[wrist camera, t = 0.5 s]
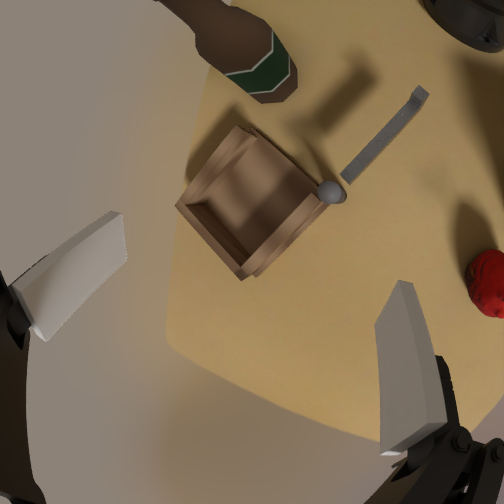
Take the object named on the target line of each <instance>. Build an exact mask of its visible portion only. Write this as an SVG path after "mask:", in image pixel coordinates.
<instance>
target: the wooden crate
mask: <svg viewBox="0 0 504 504" xmlns="http://www.w3.org/2000/svg"><path fill="white" fill-rule="evenodd" d="M346 198H347V193H346V191H345V190H344V189H343V188H342V187H340V186H339V185H338V184H337V183H335V182H333V181H329V180H328V181H324V182H322V183H321V184H320V185H319V187H318V186H317V185H316V184H315V183H314V182H313V181H312V180H311V179H310V178H309V177H308V176H307V175H306V174H305V173H304V172H303V171H302V170H301V169H299V168H298V167H297V166H296V165H295V164H294V163H293V162H292V161H291V160H290V159H289V158H287V157H286V156H285V155H284V154H283V153H282V152H281V151H280V150H278V149H277V148H276V147H275V146H274V145H273V144H272V143H270V142H269V141H268V140H267V139H266V138H265V137H263V136H262V135H261V134H260V133H259V132H257V131H256V130H255V129H253V128H250V129H249V131H247V130H245V129H243V128H241V127H240V126H238V125H235V127H234V128H233V129H232V130H231V131H230V133H229V134H228V135H227V136H226V138H225V139H224V140H223V141H222V142H221V144H220V145H219V146H218V148H217V149H216V150H215V151H214V153H213V154H212V155H211V157H210V158H209V159H208V160H207V162H206V163H205V164H204V166H203V167H202V168H201V170H200V171H199V172H198V174H197V175H196V176H195V178H194V179H193V180H192V182H191V183H190V185H189V186H188V187H187V189H186V190H185V192H184V193H183V194H182V196H181V197H180V199H179V200H178V202H177V203H176V204H175V207H176V208H177V209H178V211H179V212H180V213H181V214H182V215H183V216H184V217H185V219H186V220H187V221H188V222H189V223H190V224H191V226H192V227H193V228H194V229H195V230H196V231H197V232H198V234H199V235H200V236H201V237H202V238H203V239H204V240H205V242H206V243H207V244H208V245H209V246H210V247H211V248H212V249H213V251H214V252H215V253H216V254H217V255H218V256H219V257H220V258H221V260H222V261H223V262H224V263H225V264H226V265H227V266H228V267H229V268H230V270H231V271H232V272H233V273H234V274H235V275H236V276H237V277H238V278H239V280H240V281H242V280H244V279H246V278H247V277H249V276H250V275H252V274H253V275H254V276H255V278H256V277H258V276H259V275H260V274H261V273H262V272H263V271H264V270H265V269H266V268H267V267H268V266H270V265H271V264H272V263H273V262H274V261H275V260H276V259H277V258H278V257H279V256H280V255H281V254H282V253H283V252H284V251H285V250H286V249H287V248H288V247H289V246H290V245H291V244H292V243H293V242H294V241H295V240H296V239H297V238H298V237H299V236H300V235H301V234H302V233H303V232H304V231H305V230H306V229H307V227H308V226H309V225H310V224H311V223H312V222H313V221H314V220H315V219H316V218H317V217H318V216H319V215H320V214H321V213H322V212H323V211H324V210H325V209H326V208H327V207H328V206H329V205H330V204H340V203H343V202H344V201H345V200H346Z"/></svg>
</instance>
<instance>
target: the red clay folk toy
mask: <svg viewBox="0 0 504 504" xmlns="http://www.w3.org/2000/svg"><path fill="white" fill-rule="evenodd" d="M465 280H466V283H467V289H468V294H469V297H470V299H471V301H472V302H473V303H474V304H475V305H476V306H477V308H478V309H479V310H480V311H481V312H482V313H483V314H485V315H486V316H490V317H498V318H504V253H503V252H501V251H499V250H495V249H490V250H486V251H484V252H482V253H481V254H479V255H478V256H477V257H476V258H475V260H474V261H473V262H472V263H470V264H469V265H468V266H467V269H466V271H465Z"/></svg>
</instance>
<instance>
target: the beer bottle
mask: <svg viewBox="0 0 504 504" xmlns="http://www.w3.org/2000/svg"><path fill="white" fill-rule="evenodd" d="M154 1H160V2H161V3H162V4H163V5H165V6H166V7H167V8H168V9H170V10H171V11H172V12H173V13H174V14H176V15H177V16H178V17H179V18H180V19H182V20H183V21H184V22H185V23H186V24H187V25H189V27H190V28H191V29H192V31H193V32H194V33H195V37H196V38H195V43H196V48H197V51H198V53H199V55H200V56H201V57H203V59H205V60H206V61H207V62H208V63H209V64H211V65H212V66H213V67H215V68H216V69H217V70H219V71H220V72H221V73H223V74H224V75H225V76H227V77H228V78H229V79H231V80H232V81H233V82H235V83H236V84H237V85H238V86H240V87H241V88H242V89H243V90H245V91H246V92H247V93H248V94H250V95H251V96H252V97H253V98H254V99H256V100H257V101H258V102H260V103H261V104H263V103H276V102H283V101H284V100H285V99H286V98H287V97H288V96H289V95H290V94H292V93H293V92H294V91H295V90H296V89H297V88H298V87H297V68H296V66H295V64H294V62H293V61H292V59H291V57H290V56H289V54H288V52H287V51H286V49H285V48H284V46H283V45H282V43H281V42H280V40H279V39H278V37H277V36H276V34H275V33H274V31H273V30H272V28H271V27H270V26H269V25H268V24H267V23H266V22H265V21H264V20H263V19H261V18H259V17H257V16H255V15H253V14H251V13H249V12H247V11H245V10H243V9H241V8H238V7H233V6H228V5H226V4H225V3H224V2H222V1H221V0H154Z"/></svg>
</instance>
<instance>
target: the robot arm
mask: <svg viewBox="0 0 504 504" xmlns="http://www.w3.org/2000/svg"><path fill="white" fill-rule="evenodd" d="M423 2H424V5H425V7H426V9H427V11H428V12H429V14H430V15H431V16H432V18H433V19H434V20H435V21H436V22H437V23H438V24H439V25H440V26H441V27H442V28H443V29H444V30H446V31H447V32H448V33H449V34H451V35H452V36H453V37H455V38H456V39H458V40H459V41H461V42H463V43H464V44H466V45H468V46H470V47H472V48H474V49H477V50H480V51H483V52H488V53H497V52H500V51H502V50H503V49H504V0H423ZM126 260H128V259H127V252H126V245H125V237H124V228H123V219H122V213H118V212H114V211H110V212H108V213H107V214H105V215H104V216H102V217H101V218H99V219H98V220H96V221H94V222H93V223H92V224H90V225H89V226H87V227H86V228H84V229H83V230H82V231H80V232H79V233H77V234H76V235H74V236H73V237H71V238H70V239H69V240H67V241H66V242H65V243H63V244H62V245H60V246H59V247H58V248H56V249H55V250H54V251H52V252H51V253H50V254H48V255H46V256H44V257H43V258H42V259H40V260H39V261H38V262H37V263H35V264H34V265H33V266H32V267H31V268H29V269H28V270H27V271H26V272H24V273H23V274H22V275H21V276H20V277H19V278H17V279H16V280H15V281H14V282H13V283H12V284H10V285H9V286H8V287H7V285H6V283H5V280H4V278H3V276H2V273H1V271H0V495H1V496H3V497H6V498H7V499H9V500H10V502H11V503H12V504H46V501H45V498H44V495H43V493H42V491H41V489H40V488H39V486H38V485H37V484H36V483H35V481H34V479H33V474H32V469H31V462H30V455H29V447H28V436H27V421H26V378H27V361H28V351H29V342H30V331H29V329H28V328H29V327H30V326H32V327H33V329H34V331H35V333H36V334H37V335H38V336H39V337H40V338H42V339H43V340H44V341H46V342H47V341H48V340H49V339H50V338H51V337H52V336H53V335H54V334H55V332H56V331H57V330H58V329H59V328H60V327H61V326H62V325H63V324H64V323H65V321H66V320H67V319H68V318H69V317H70V316H71V315H72V314H73V313H74V312H75V311H76V310H77V309H78V308H79V307H80V305H82V303H83V302H84V301H85V300H86V299H87V298H88V297H89V296H90V295H91V294H92V293H93V292H94V291H95V290H96V289H97V288H98V287H99V286H100V285H101V284H102V283H103V282H104V281H105V280H106V279H107V278H108V277H109V276H111V275H112V274H113V273H114V272H115V271H116V270H117V269H118V268H119V267H120V266H121V265H122V264H123V263H124V262H125V261H126ZM374 325H375V334H376V344H377V355H378V368H379V385H380V455H399V454H400V453H402V452H404V451H406V450H407V449H408V456H407V457H406V458H404V459H402V460H400V461H399V462H397V463H395V464H394V465H392V468H394V467H396V466H398V465H399V466H398V467H397V468H396V469H395V470H394V472H393V473H392V474H391V475H390V476H389V478H388V479H387V480H386V481H385V482H384V483H383V484H382V485H381V486H380V487H379V489H378V490H377V491H376V492H375V493H374V494H373V495H372V496H371V497H370V498H369V499H368V500H367V501H366V502H365V503H364V504H496V501H497V498H498V494H499V491H500V487H501V483H502V479H503V475H504V441H503V440H501V439H500V438H495V439H493V440H491V441H489V442H488V443H487V444H483V443H480V442H476V441H473V440H472V437H471V434H470V432H469V431H468V430H467V429H466V428H464V427H462V426H460V423H459V417H458V411H457V405H456V400H455V395H454V390H452V389H453V385H452V381H450V380H451V376H450V372H449V368H448V366H447V364H446V362H445V361H444V359H443V357H442V356H437V355H435V354H434V350H433V346H432V342H431V339H430V335H429V331H428V328H427V325H426V321H425V318H424V315H423V312H422V309H421V306H420V303H419V300H418V297H417V294H416V291H415V288H414V285H413V283H410V282H406V281H402V280H398V281H397V283H396V285H395V287H394V289H393V291H392V293H391V295H390V297H389V299H388V301H387V303H386V305H385V306H384V308H383V310H382V312H381V314H380V316H379V317H378V319H377V321H376V323H375V324H374ZM468 485H469V486H468ZM466 486H468V489H467V492H466V493H464V489H465V487H466Z"/></svg>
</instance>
